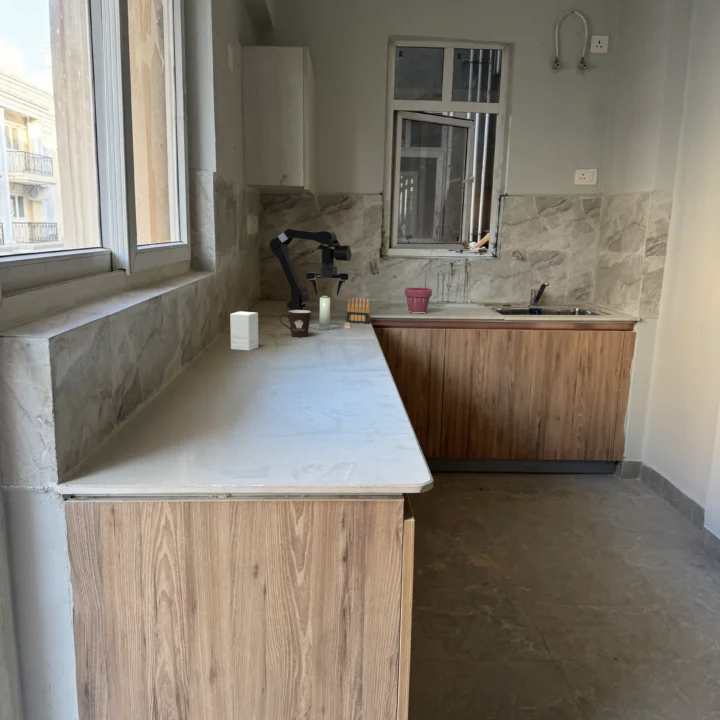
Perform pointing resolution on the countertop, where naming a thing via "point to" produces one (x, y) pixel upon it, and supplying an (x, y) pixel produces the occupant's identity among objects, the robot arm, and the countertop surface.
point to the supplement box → (244, 330)
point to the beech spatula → (347, 325)
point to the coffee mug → (298, 322)
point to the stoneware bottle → (324, 311)
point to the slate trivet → (332, 326)
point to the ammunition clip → (358, 311)
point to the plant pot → (418, 298)
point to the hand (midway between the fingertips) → (327, 295)
